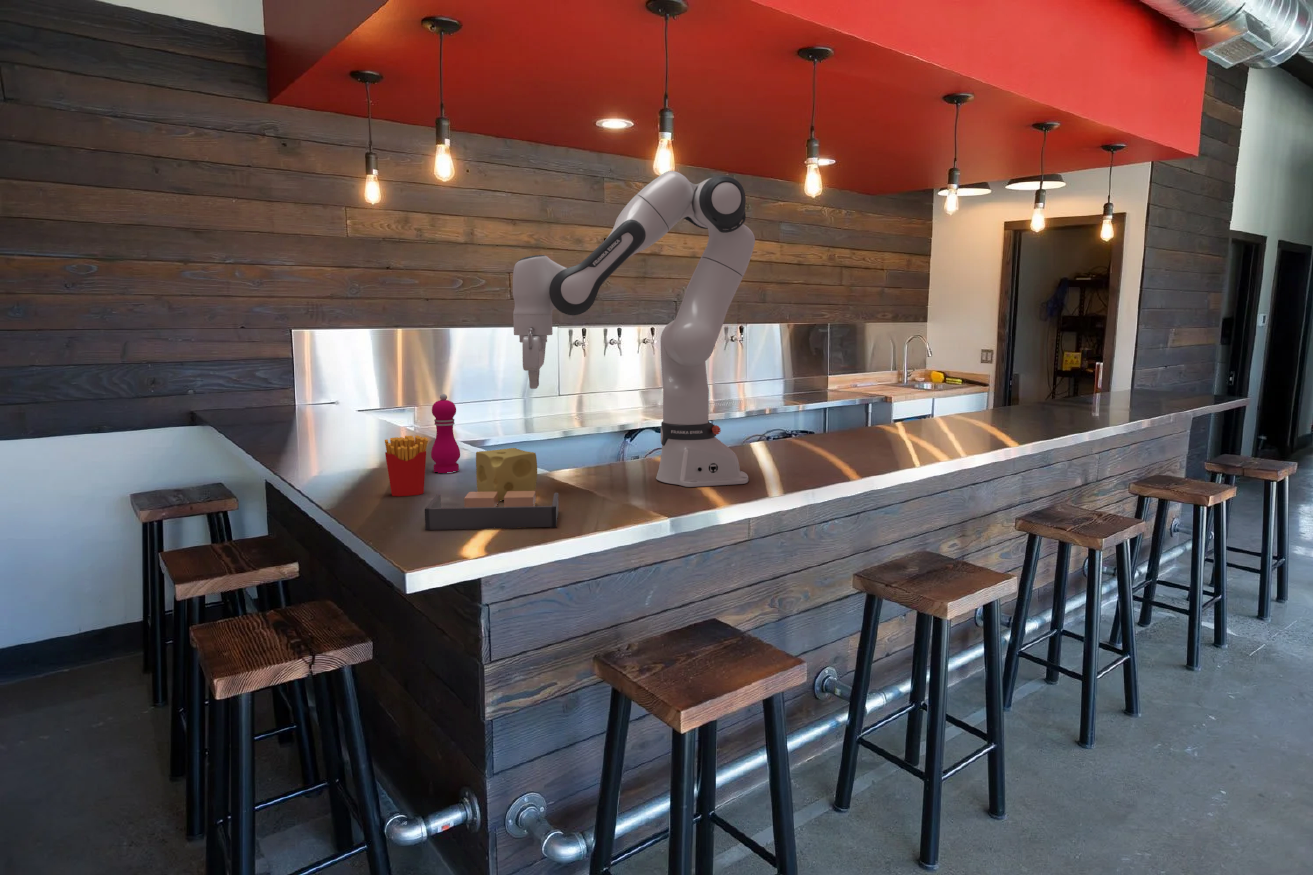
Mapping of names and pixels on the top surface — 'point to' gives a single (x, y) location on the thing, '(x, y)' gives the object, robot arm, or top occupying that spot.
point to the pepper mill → (444, 437)
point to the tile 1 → (481, 499)
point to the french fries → (406, 465)
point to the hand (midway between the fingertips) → (534, 387)
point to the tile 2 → (519, 498)
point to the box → (489, 516)
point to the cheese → (506, 471)
